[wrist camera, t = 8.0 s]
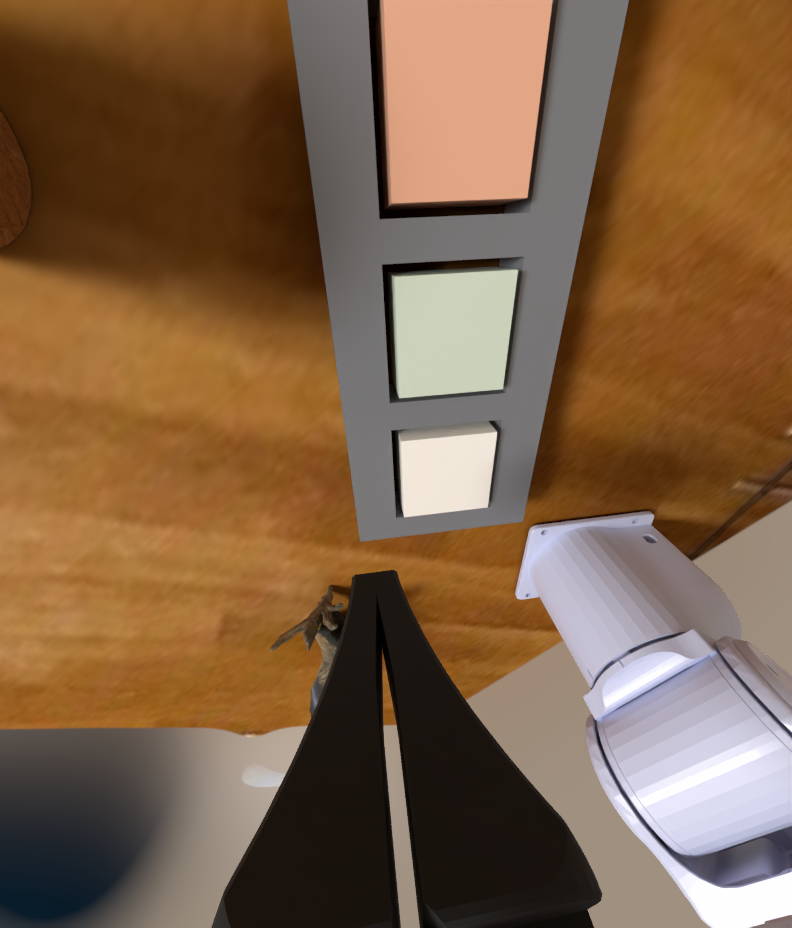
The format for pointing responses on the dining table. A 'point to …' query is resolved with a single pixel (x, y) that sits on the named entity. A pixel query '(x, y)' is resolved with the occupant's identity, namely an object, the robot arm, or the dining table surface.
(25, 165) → the disposable coffee cup
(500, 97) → the terracotta key
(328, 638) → the eagle figurine
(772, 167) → the dining table surface
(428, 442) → the ivory key
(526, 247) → the key frame
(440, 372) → the sage key
